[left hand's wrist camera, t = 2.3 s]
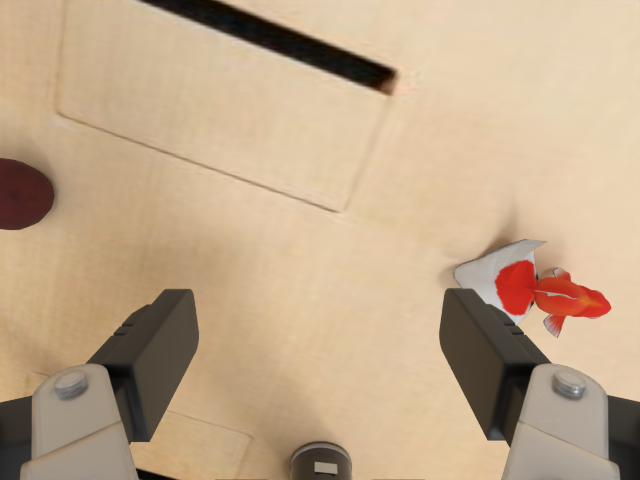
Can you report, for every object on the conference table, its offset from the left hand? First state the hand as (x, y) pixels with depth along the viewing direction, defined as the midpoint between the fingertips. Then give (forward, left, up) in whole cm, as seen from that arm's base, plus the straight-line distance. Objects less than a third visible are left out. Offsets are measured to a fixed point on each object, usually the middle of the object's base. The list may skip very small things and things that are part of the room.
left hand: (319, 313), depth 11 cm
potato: (-2, +32, -29) cm, 43 cm away
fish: (-13, -23, -29) cm, 40 cm away
